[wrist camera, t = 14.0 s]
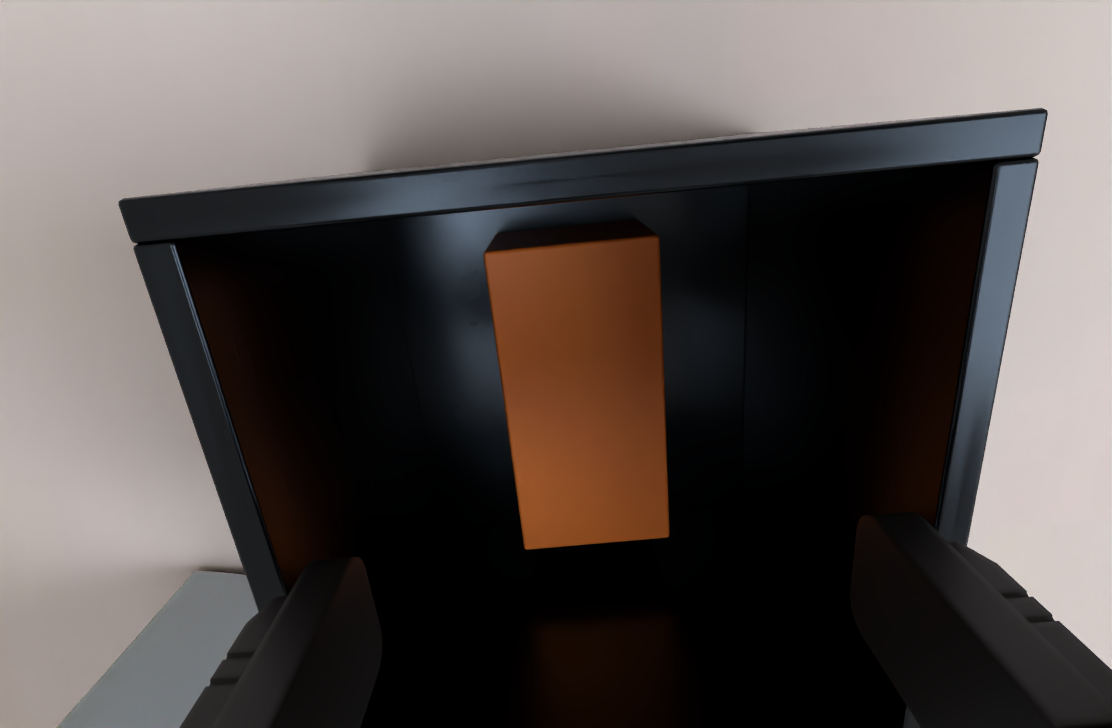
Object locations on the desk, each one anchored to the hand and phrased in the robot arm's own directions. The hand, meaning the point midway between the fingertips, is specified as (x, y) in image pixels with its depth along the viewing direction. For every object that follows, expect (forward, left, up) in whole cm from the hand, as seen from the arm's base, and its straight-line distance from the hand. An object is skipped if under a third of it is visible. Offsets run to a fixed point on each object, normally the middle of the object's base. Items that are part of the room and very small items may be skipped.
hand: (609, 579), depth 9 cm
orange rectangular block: (0, 0, -10) cm, 10 cm away
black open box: (0, 0, -11) cm, 11 cm away
